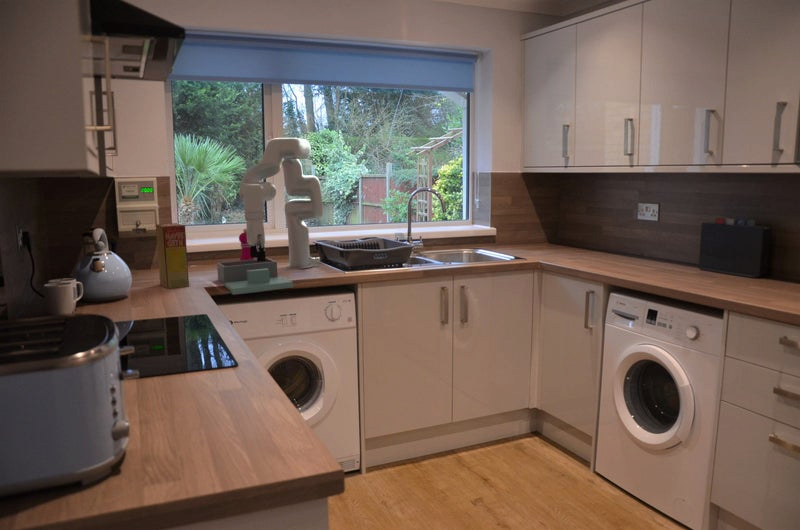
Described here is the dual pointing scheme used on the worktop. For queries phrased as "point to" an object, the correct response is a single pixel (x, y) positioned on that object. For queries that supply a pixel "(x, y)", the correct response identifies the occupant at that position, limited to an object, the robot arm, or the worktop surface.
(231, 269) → the tub
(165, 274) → the food packaging
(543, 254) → the worktop surface
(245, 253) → the pepper mill
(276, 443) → the worktop surface
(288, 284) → the lid
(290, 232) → the robot arm
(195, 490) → the worktop surface
